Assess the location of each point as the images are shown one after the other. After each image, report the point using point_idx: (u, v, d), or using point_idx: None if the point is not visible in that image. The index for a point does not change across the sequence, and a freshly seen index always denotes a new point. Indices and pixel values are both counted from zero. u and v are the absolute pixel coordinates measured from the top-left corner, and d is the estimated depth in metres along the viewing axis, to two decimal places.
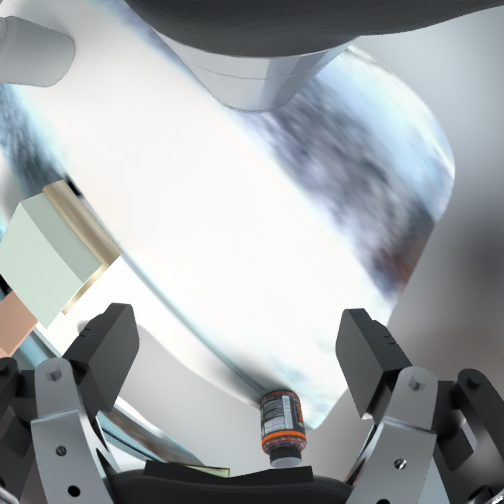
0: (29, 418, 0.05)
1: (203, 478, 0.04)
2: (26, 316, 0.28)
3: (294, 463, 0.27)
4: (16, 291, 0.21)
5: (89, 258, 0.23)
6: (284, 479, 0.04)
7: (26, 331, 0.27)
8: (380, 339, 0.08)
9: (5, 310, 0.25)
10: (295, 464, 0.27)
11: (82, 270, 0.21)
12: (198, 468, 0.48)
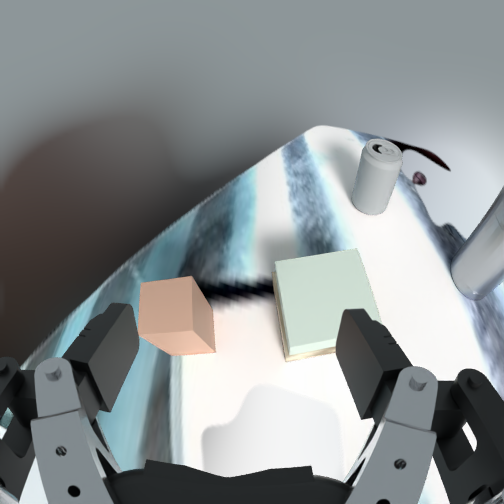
0: (29, 418, 0.05)
1: (203, 478, 0.04)
2: (209, 334, 0.32)
3: None
4: (287, 297, 0.29)
5: None
6: (284, 479, 0.04)
7: (206, 341, 0.30)
8: (380, 339, 0.08)
9: (203, 306, 0.32)
10: None
11: None
12: None
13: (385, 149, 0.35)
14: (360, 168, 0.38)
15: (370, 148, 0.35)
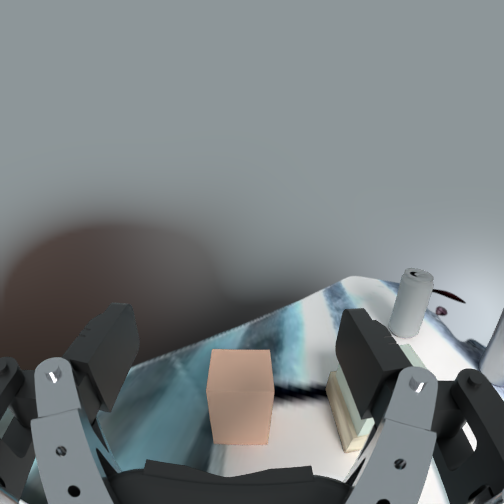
0: (29, 418, 0.05)
1: (203, 478, 0.04)
2: None
3: None
4: None
5: None
6: (284, 479, 0.04)
7: None
8: (380, 339, 0.08)
9: None
10: None
11: None
12: None
13: (420, 274, 0.42)
14: (399, 293, 0.43)
15: (408, 273, 0.42)
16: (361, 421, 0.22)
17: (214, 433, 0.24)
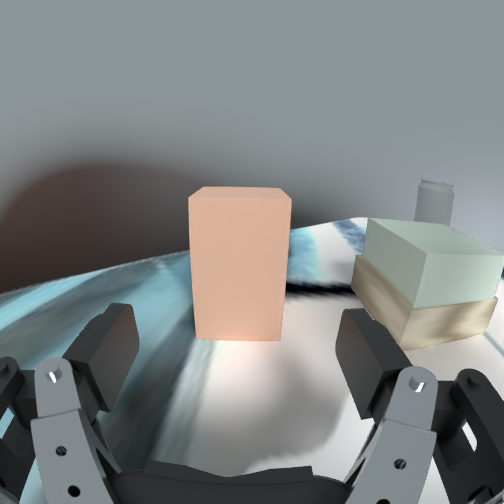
0: (29, 418, 0.05)
1: (203, 478, 0.04)
2: None
3: None
4: (396, 231, 0.20)
5: None
6: (284, 479, 0.04)
7: None
8: (380, 339, 0.08)
9: None
10: None
11: None
12: None
13: None
14: (419, 202, 0.37)
15: None
16: (415, 277, 0.16)
17: (197, 310, 0.18)
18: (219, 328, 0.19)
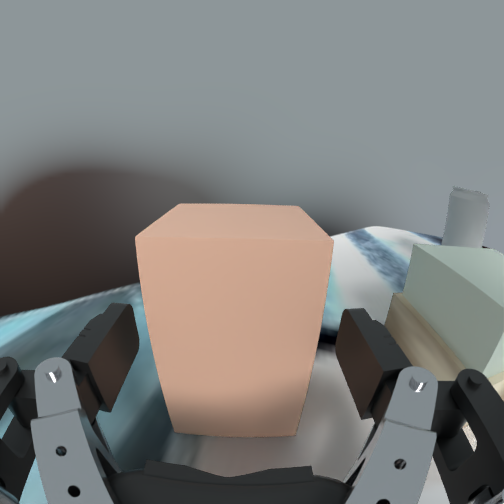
0: (29, 418, 0.05)
1: (204, 478, 0.04)
2: None
3: None
4: (457, 268, 0.13)
5: None
6: (283, 480, 0.04)
7: None
8: (380, 339, 0.08)
9: None
10: None
11: None
12: None
13: (471, 191, 0.28)
14: (451, 214, 0.29)
15: None
16: (488, 342, 0.09)
17: (170, 404, 0.10)
18: (206, 424, 0.11)
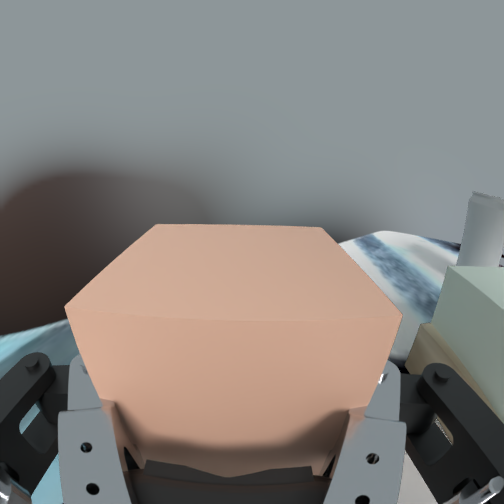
0: None
1: (204, 478, 0.04)
2: None
3: None
4: (499, 300, 0.09)
5: None
6: (283, 479, 0.04)
7: None
8: None
9: None
10: None
11: None
12: None
13: (491, 196, 0.24)
14: (471, 221, 0.25)
15: None
16: None
17: None
18: None
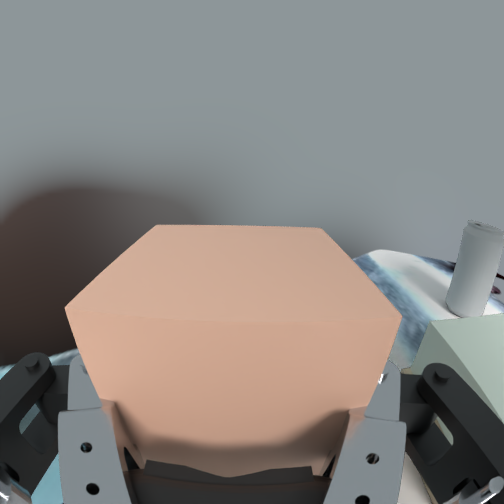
0: None
1: (203, 478, 0.04)
2: None
3: None
4: (472, 364, 0.10)
5: None
6: (283, 480, 0.04)
7: None
8: None
9: None
10: None
11: None
12: None
13: (487, 226, 0.25)
14: (464, 252, 0.26)
15: None
16: None
17: None
18: None
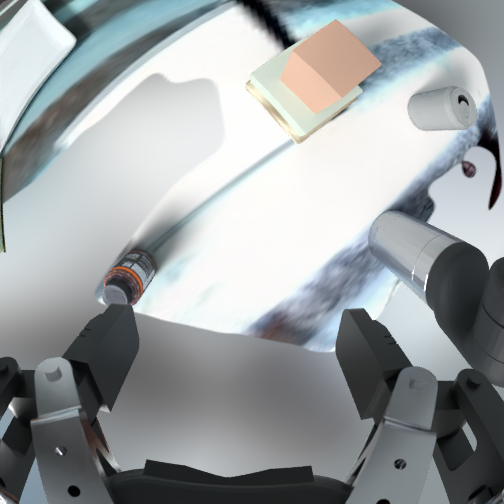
0: (29, 418, 0.05)
1: (203, 478, 0.04)
2: None
3: None
4: (287, 53, 0.27)
5: None
6: (283, 480, 0.04)
7: (327, 106, 0.25)
8: (380, 339, 0.08)
9: None
10: None
11: None
12: None
13: (465, 108, 0.24)
14: (439, 89, 0.27)
15: (459, 92, 0.24)
16: None
17: (283, 75, 0.26)
18: (291, 87, 0.27)
